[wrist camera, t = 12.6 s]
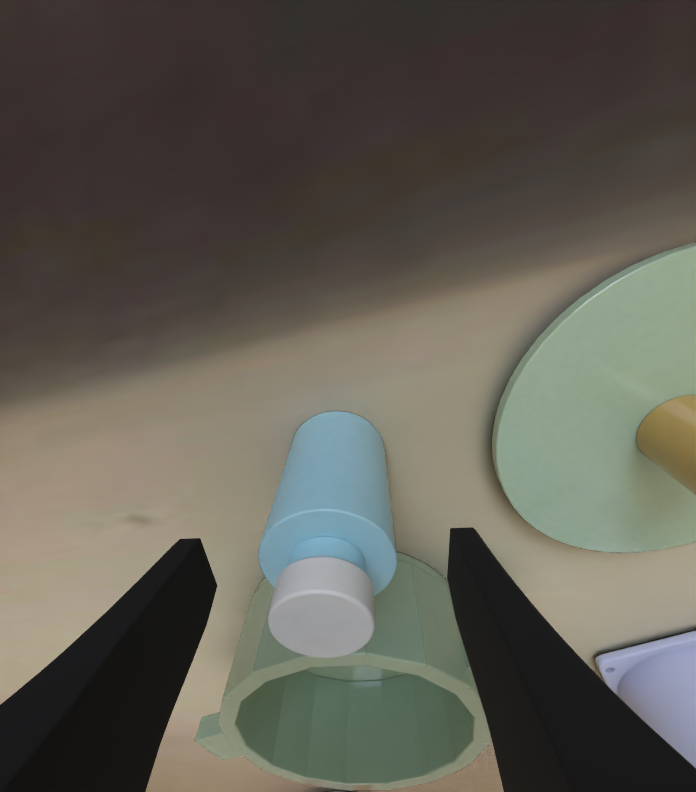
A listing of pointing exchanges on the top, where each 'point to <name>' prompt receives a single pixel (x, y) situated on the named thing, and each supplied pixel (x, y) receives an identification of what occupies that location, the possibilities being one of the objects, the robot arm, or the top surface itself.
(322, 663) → the pot
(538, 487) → the lid
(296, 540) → the water bottle
